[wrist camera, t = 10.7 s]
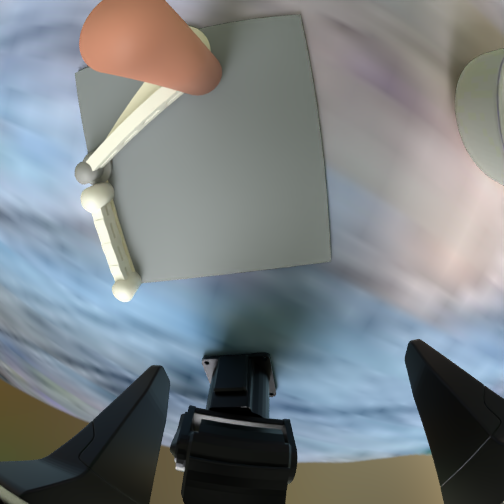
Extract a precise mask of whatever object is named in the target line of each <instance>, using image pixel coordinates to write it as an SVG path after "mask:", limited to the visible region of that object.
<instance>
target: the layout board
mask: <svg viewBox="0 0 504 504" xmlns="http://www.w3.org/2000/svg"><path fill="white" fill-rule="evenodd" d="M189 27H190V28H191V29H192V30H193V32H194V33H195V34H196V35H197V36H198V37H199V38H200V40H201V41H202V42H203V43H204V44H205V45H206V47H207V48H208V49H209V50H210V51H211V53H212V54H213V55H214V56H215V57H216V59H217V60H218V61H219V63H220V65H221V67H222V77H221V80H220V82H219V84H218V85H217V87H216V88H215V89H213V90H212V91H211V92H209V93H207V94H204V95H198V96H196V95H190V94H187V93H184V94H182V95H181V96H180V97H179V98H177V99H176V100H175V101H174V102H173V103H171V104H170V105H169V106H168V107H167V108H165V109H164V110H163V111H162V112H161V113H160V114H158V115H157V116H156V117H155V118H154V119H153V120H152V121H151V122H149V123H148V124H147V125H146V126H145V127H144V128H143V129H142V130H141V131H140V132H139V133H137V134H136V135H135V136H134V137H133V138H132V139H131V140H130V141H129V142H128V143H127V144H126V145H125V146H124V147H123V148H122V149H121V150H120V151H119V152H118V153H117V154H116V155H115V156H114V157H113V158H112V159H111V160H110V161H109V162H108V163H107V164H106V165H105V166H104V171H103V174H102V176H101V177H100V178H98V179H96V180H94V181H92V182H90V184H92V185H94V184H96V183H99V182H107V183H108V182H109V183H110V184H111V185H112V186H113V189H114V198H113V199H112V200H111V202H110V204H111V208H112V211H113V212H114V216H115V221H116V225H117V228H118V231H119V234H120V235H121V239H122V244H123V247H124V250H125V253H126V256H127V257H128V260H129V265H130V267H131V270H132V271H133V272H135V271H136V272H137V273H138V274H139V275H140V277H141V280H142V282H141V283H149V282H159V281H169V280H178V279H188V278H197V277H206V276H215V275H224V274H233V273H242V272H250V271H259V270H267V269H276V268H284V267H292V266H300V265H308V264H316V263H324V262H331V251H330V231H329V216H328V202H327V190H326V179H325V168H324V159H323V150H322V141H321V133H320V125H319V117H318V110H317V103H316V97H315V90H314V84H313V78H312V72H311V66H310V61H309V55H308V50H307V45H306V40H305V35H304V30H303V25H302V21H301V16H300V15H286V16H274V17H265V18H257V19H249V20H242V21H236V22H230V23H225V24H219V25H214V26H210V27H205V28H201V29H197V28H194V27H191V26H189ZM75 78H76V86H77V94H78V100H79V107H80V113H81V119H82V124H83V130H84V135H85V140H86V145H87V150H88V154H87V155H86V157H85V158H84V160H83V161H86V160H88V159H89V157H90V156H91V155H92V154H93V153H94V152H95V151H96V150H97V148H98V147H99V146H100V145H101V144H102V143H103V142H104V141H105V140H106V139H107V138H108V137H109V136H110V135H111V134H112V133H113V132H114V130H115V129H116V128H117V127H118V126H119V125H120V124H121V123H122V122H123V121H124V120H125V119H127V118H128V117H129V116H130V115H131V114H132V113H133V112H134V111H135V110H136V109H137V108H138V107H139V106H140V105H141V104H142V103H144V102H145V101H146V100H147V99H148V98H149V97H150V96H151V95H152V94H154V93H155V92H156V91H157V90H158V89H159V88H161V87H162V86H158V85H155V84H151V83H147V82H143V81H139V80H134V79H130V78H125V77H121V76H116V75H111V74H106V73H101V72H98V71H95V70H93V69H92V68H90V67H87V68H85V69H83V70H81V71H79V72H77V73H75Z"/></svg>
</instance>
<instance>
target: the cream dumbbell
mask: <svg viewBox="0 0 504 504" xmlns="http://www.w3.org/2000/svg"><path fill="white" fill-rule="evenodd" d="M113 198H114V189H113V186H112V185H111V184H110V183H109V182H108V183H107V182H99V183H96V184H94V185H92V186H90V187H88V188H86V189H85V190H84V191H83V192H82V194H81V204H82V206H83V207H84V209H85V210H86V211H88V212H91V213H92V216H93V219H94V224H95V227H96V229H97V232H98V235H99V238H100V241H101V245H102V248H103V251H104V253H105V255H106V258H107V261H108V264H109V267H110V270H111V273H112V274H113V277H114V280H115V284H114V285H113V287H112V292H113V294H114V296H115V297H116V298H117V299H118V300H120V301H122V302H128V301H130V300H131V299H132V297H133V296H134V294H135V293H136V291H137V290H138V288H139V287H140V285H141V284H142V283H141V282H142V280H141V277H140V275H139V274H138V273H137V272H136V271H135V272H133V271H132V270H131V267H130V265H129V260H128V257H127V256H126V253H125V250H124V247H123V244H122V239H121V235H120V234H119V231H118V228H117V225H116V221H115V216H114V212H113V211H112V208H111V204H110V202H111V200H112V199H113Z"/></svg>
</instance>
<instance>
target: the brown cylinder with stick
mask: <svg viewBox="0 0 504 504" xmlns="http://www.w3.org/2000/svg"><path fill="white" fill-rule="evenodd" d="M79 46H80V52H81V55H82V58H83V60H84V61H85V63H86V64H87V65H88V66H89V67H90V68H92V69H93V70H95V71H98V72H101V73H106V74H111V75H116V76H121V77H125V78H130V79H134V80H139V81H143V82H147V83H151V84H155V85H158V86H162V87H161V88H159V89H158V90H157V91H156V92H155V93H154V94H152V95H151V96H150V97H149V98H148V99H147V100H146V101H145V102H144V103H142V104H141V105H140V106H139V107H138V108H137V109H136V110H135V111H134V112H133V113H132V114H131V115H130V116H129V117H128V118H127V119H125V120H124V121H123V122H122V123H121V124H120V125H119V126H118V127H117V128H116V129H115V130H114V132H113V133H112V134H111V135H110V136H109V137H108V138H107V139H106V140H105V141H104V142H103V143H102V144H101V145H100V146H99V147H98V148H97V150H96V151H95V152H94V153H93V154H92V155H91V156H90V157H89V159H88V160H86V161H83V162H80V163H79V164H78V165H77V166H76V168H75V177H76V179H77V181H78V182H79V183H81V184H88V183H90V182H92V181H94V180H96V179H98V178H100V177H101V176H102V174H103V171H104V166H105V165H106V164H107V163H108V162H109V161H110V160H111V159H112V158H113V157H114V156H115V155H116V154H117V153H118V152H119V151H120V150H121V149H122V148H123V147H124V146H125V145H126V144H127V143H128V142H129V141H130V140H131V139H132V138H133V137H134V136H135V135H136V134H137V133H139V132H140V131H141V130H142V129H143V128H144V127H145V126H146V125H147V124H148V123H149V122H151V121H152V120H153V119H154V118H155V117H156V116H157V115H158V114H160V113H161V112H162V111H163V110H164V109H165V108H167V107H168V106H169V105H170V104H171V103H173V102H174V101H175V100H176V99H177V98H179V97H180V96H181V95H182V94H184V93H187V94H190V95H196V96H198V95H204V94H207V93H209V92H211V91H212V90H213V89H215V88H216V87H217V85H218V84H219V82H220V80H221V77H222V67H221V65H220V63H219V61H218V60H217V59H216V57H215V56H214V55H213V54H212V53H211V51H210V50H209V49H208V48H207V47H206V45H205V44H204V43H203V42H202V41H201V40H200V38H199V37H198V36H197V35H196V34H195V33H194V32H193V30H192V29H191V28H190V27H189V26H188V25H187V24H186V23H185V21H184V20H183V19H182V18H181V17H180V16H179V15H178V14H177V13H176V12H175V11H174V10H173V8H172V7H171V6H170V5H169V4H168V3H167V2H166V1H165V0H103V1H101V2H100V3H99V4H98V5H97V6H96V7H95V8H94V9H93V10H92V12H91V13H90V14H89V16H88V17H87V19H86V21H85V23H84V25H83V27H82V30H81V34H80V41H79Z"/></svg>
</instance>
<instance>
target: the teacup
mask: <svg viewBox="0 0 504 504" xmlns="http://www.w3.org/2000/svg"><path fill="white" fill-rule="evenodd" d="M455 113H456V119H457V124H458V129H459V132H460V135H461V138H462V141H463V143H464V146H465V148H466V150H467V151H468V153H469V155H470V157H471V158H472V160H473V161H474V162H475V164H476V165H477V166H478V167H479V168H480V169H481V170H482V171H483V172H484V173H485V174H486V175H487V176H489V177H490V178H491V179H493V180H494V181H496V182H498V183H500V184H501V185H503V186H504V48H503V49H498V50H495V51H491V52H488V53H485V54H482V55H480V56H478V57H476V58H474V59H473V60H472V61H471V62H470V63H469V64H468V65H467V66H466V67H465V68H464V70H463V72H462V73H461V75H460V78H459V81H458V83H457V88H456V95H455Z"/></svg>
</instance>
